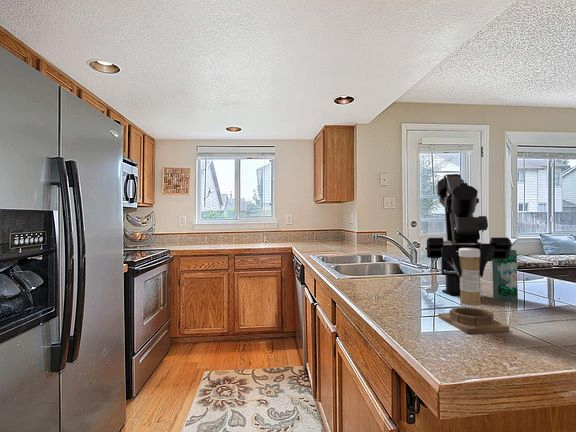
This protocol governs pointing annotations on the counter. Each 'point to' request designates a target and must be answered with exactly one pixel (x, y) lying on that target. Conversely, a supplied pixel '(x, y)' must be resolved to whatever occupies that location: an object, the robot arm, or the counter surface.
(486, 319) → the holder
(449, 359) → the counter surface
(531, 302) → the counter surface
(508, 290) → the can
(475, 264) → the sprinkles bottle
